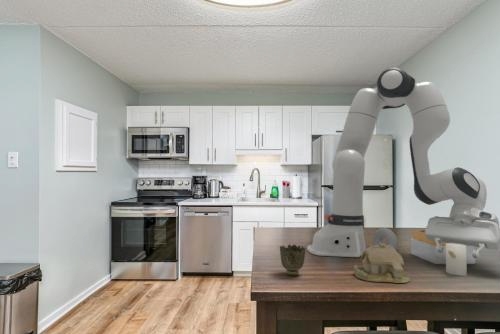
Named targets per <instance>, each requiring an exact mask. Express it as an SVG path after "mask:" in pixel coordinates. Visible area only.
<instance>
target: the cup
mask: <svg viewBox="0 0 500 334" xmlns="http://www.w3.org/2000/svg"><path fill="white" fill-rule="evenodd" d="M306 251H307V247H305V246H301V245H298V246H297V244H293V245H291V244H290V243H289V244H288V245H287V247H285V245H280V246H279V253H280V261H281V265H282V267H283V268H284V269H285V270H286V271H285V274H286V275H287V276H289V277H297V276H298V275H299V273H300V272H299V270H301V269H302V268H303V266H304V264H305V263H304V262H305V258H306V256H305V255H306Z"/></svg>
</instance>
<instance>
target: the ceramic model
mask: <svg viewBox="0 0 500 334" xmlns="http://www.w3.org/2000/svg"><path fill="white" fill-rule="evenodd" d="M360 260H361V263H362V265H361V266H359V265H358V264H355V265H353V272H354V276H355V277H357V278H358V279H360V280H364V281H367V282H382V283H383V282H384V283H396V284H405V283H409V282H410V281H411V279H410V277H409V276H408V275H407V274H406V273H404V268H403V266H405V262H404V258H403V256H402V255H401V254H400V253H399V252H398V250H395V249H394V248H393V246H391V245H388V244H385V242H384V241H383V242H379V245H374V244H373V245H369V247H366V250H364V251H363V254H362V255H361V256H360Z"/></svg>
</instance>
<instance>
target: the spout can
mask: <svg viewBox="0 0 500 334" xmlns="http://www.w3.org/2000/svg"><path fill="white" fill-rule="evenodd" d="M467 265H468V264H467V260H466V245H463V244H458V243H446V264H445V273H447V274H449V275H453V276H460V277H466V276H467V269H468V268H467V267H468V266H467Z"/></svg>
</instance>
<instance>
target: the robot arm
mask: <svg viewBox="0 0 500 334" xmlns="http://www.w3.org/2000/svg"><path fill="white" fill-rule="evenodd" d="M404 106H407V107H408V110H409V112H410V116H411V118H412V122H413V123H412V124H413V125H412V132H411V135H410V137H409V151H410V152H409V153H410V158H411V160H410V161H411V165H412V166H411V167H412V173H413V192H414V195H415V197H416V198H417V199H418V200H419V201H420V202H421V203H424V204H425V205H429V206H430V205H435V204H438V203H441V202H444V201H448V200H450V201H453V205H452V206H451V209H450V213H449V215H448V216H437V215H436V216H433V217H429V218H428V221H427V225H426V227H425V232H424V233H425V236H426V238H427V239H428V240H430V241H436V244H437V248H436V250H437V252H440V253H443V250H444V248H443V246H442V245H440V244H441V243H442V242H444V243H458V244H463V245H466V246H474V247H475V248H477V249H475V250H473V253H472V256H473V258H475V259H478V260H479V259H480V256H481V255H483V253H484V252H486V251H487V249H489V250H496V251H497V250H500V221H499V219H498V217H497V215H496V214H494V213H491V212H488V211H484V208H485V206H486V203H487V185H486V183H485V182H484V180H482V179H481V178H478V177H477V176H475V175H474V174H472V173H471V172H470V171H469V170H467V169H465V168H462V167H458V166H457V167H453V168H450V169H446V170H443V171H440V172H436V173H433V174H431V171H430V170H431V169H430V162H429V158H428V157H429V156H428V153H429V150H430V147H431V146H432V145H433V143H435V142H436V140H437V139H438V138H440V137H441V136H442V135H443V134H444V133H445V132H446V131H447V129H448V128H449V126H450V122H451V116H450V112H449V108H448V107H447V103H446V101H445V99H444V97H443V95H442V93H441V92H440V90H439V88H438V87H437V85H436V84H435V83H434V82H432V81H422V82H417V83H416V79H415V78H414V77H413V76H412V75H410V74H409V73H407V72H406V71H405V70H404V69H402V68H399V67H396V66H395V67H390V68H386V69H384V71H382V72H381V73H380V74H379V75H378V77H377V81H376V87H373V88H370V87H365V88H364V87H363V88H361V89H360V90H358V91H357V92H356V94H355V96H354V98H353V99H352V102H351V105H350V106H349V107H350V108H349V110H348V113H347V117H346V119H345V123H344V124H343V125H344V126H343V129H342V133H341V134H340V138H339V141H338V145H337V148H336V150H335V154H334V157H333V160H332V165H331V166H332V170H333V181H332V182H333V183H332V185H333V186H332V187H333V188H332V213H331V214H330V215H329V214H327V213H326V214H325V215H324V220H327V224H326V225H324V226H323V227H322V228H320V229H319V230H318V231H316V232H315V233H314V235H313V238H312V243H311V244H308V245H307V247H306V251H307V252H309V253H310V254H312V255H315V256H320V257H321V256H323V257H324V256H328V257H344V258H345V257H346V258H361V256H362V254H363V251H364V250H366V249H367V246H366V243H365V236H364V228H365V217H364V214H363V212H364V211H363V209H364V208H363V207H364V204H363V203H364V200H363V197H364V184H365V171H366V170H365V166H366V162H365V159H364V158H365V155H366V153H367V151H368V148H369V146H370V143H371V140H372V137H373V134H374V131H375V128H376V124H377V121H378V118H379V115H380V112H381V110H382V109H383V110H386V109H387V110H388V109H399V108H402V107H404Z"/></svg>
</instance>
